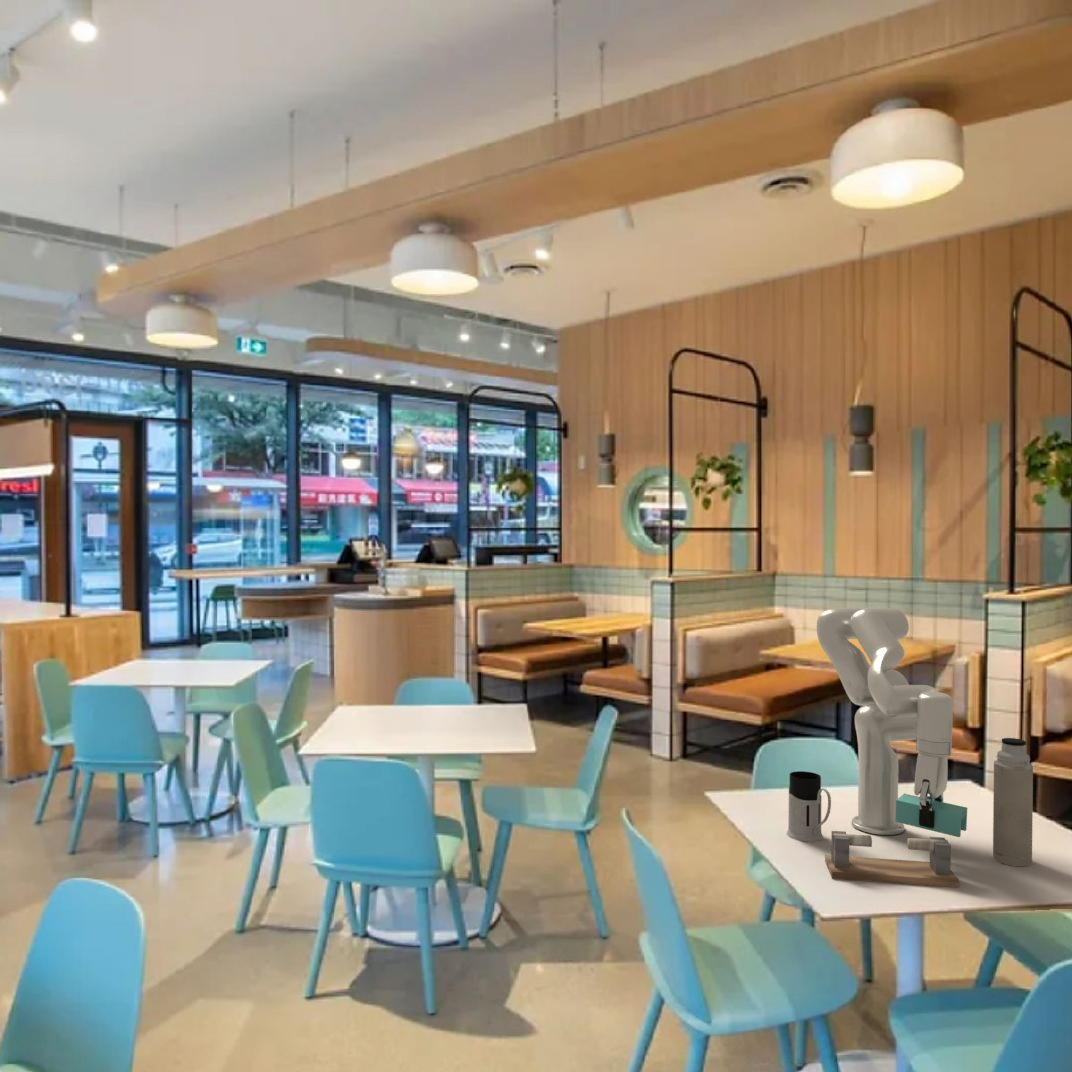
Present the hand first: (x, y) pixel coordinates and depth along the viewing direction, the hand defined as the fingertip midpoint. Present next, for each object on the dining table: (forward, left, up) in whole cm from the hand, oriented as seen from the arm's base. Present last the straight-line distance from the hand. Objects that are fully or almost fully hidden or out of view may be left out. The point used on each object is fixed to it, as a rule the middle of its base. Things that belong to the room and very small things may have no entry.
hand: (930, 821), depth 206 cm
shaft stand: (+12, -12, -8) cm, 19 cm away
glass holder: (-8, -26, -9) cm, 28 cm away
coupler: (0, 0, -1) cm, 1 cm away
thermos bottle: (-2, +18, -9) cm, 20 cm away
